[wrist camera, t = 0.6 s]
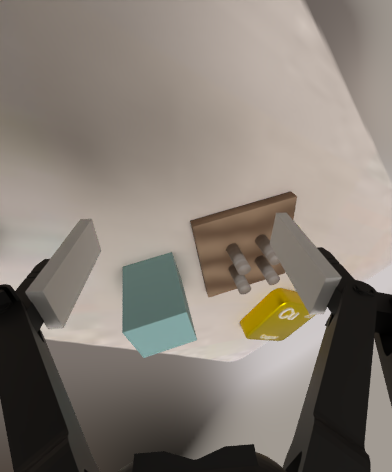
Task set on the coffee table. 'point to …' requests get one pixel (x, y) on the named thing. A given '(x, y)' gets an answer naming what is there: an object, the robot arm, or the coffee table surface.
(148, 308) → the teal block
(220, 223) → the peg board
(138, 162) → the coffee table surface
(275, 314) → the element tile
